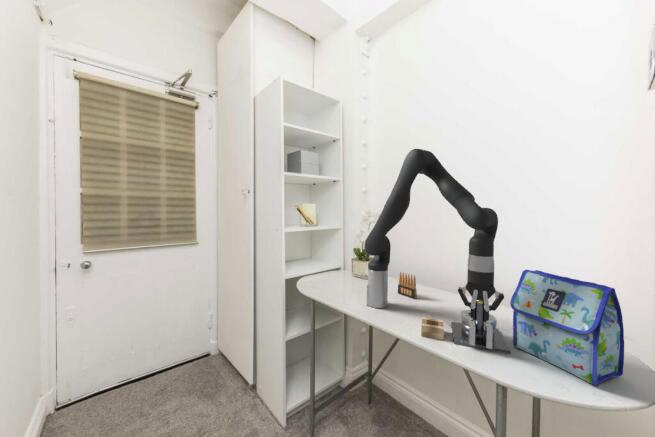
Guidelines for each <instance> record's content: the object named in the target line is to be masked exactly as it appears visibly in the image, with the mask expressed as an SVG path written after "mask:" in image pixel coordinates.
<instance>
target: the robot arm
mask: <svg viewBox="0 0 655 437" xmlns="http://www.w3.org/2000/svg"><path fill="white" fill-rule="evenodd" d="M419 174H421V175H425V176H426V177H428V178H429V179H430V180H432V182H433V183H434V184H435V185H436V186H437V189H438V191H439V193H440V194H441V196H442V197H443V198H444V200H446V201H447V202H448V203H449V204H450V205H451V207H453V208H454V210H456V211H457V214H458V216H460V218H461V219H462V221H463V222H464V223H465V224H466V225H467V226H469V227H470V228H471V229H473V230H474V231H473V232H474V233H473V236H471V237H470V238H469V241H468V257H467V265H466V266H467V273H466V274H467V278H466V280H467V282H466V284H465V286H462V287H460V286H459V287H458V288H457V292H458V294H459V297H460V299H461V300H462V302H463V304H464V306H465V307H469V310H471V312H470V316H471V318H473V320H475V304H476V299H483V300H484V322H486V321H488V320H489V314H490V312H491V311H493V312H495V311H496V310H497V309H498V307H500V305H501V303H502V301H503V300H504V299H505V295H504V293H503V292H500V291H498V290H496V287H495V258H494V257H495V256H494V254H495V253H494V251H495V248H494V247H495V238H496V234H497V231H498V226H499V217H498V214H497V213H496V211H495V210H494V209H492V208H489V207H481V206H480V205H479V204H478V203H477V202H476V201H475V200H476V199H475V196H474V195H473V193H472V192H471V191H469V190H468V189H467V188H466V187H465V186H464V185H463V184H462V183H460V182H459V181H458V180H457V179H455V178H454V176H452V175H451V173H450V172H448V170H447V169H446V168H445V167H444V166H443V164H442V163H441V162H440V160H439V159H438V158H437V156H436V155H435V154H434V153H433V152H432V151H429V150H426V149H422V148H421V149H420V148H413V149H411V150H410V151H409V152H408V153H407V154H406V156H405V158H404V160H403V162H402V166H401V168H400V171H399V174H398V177H397V179H396V181H395V183H394V184H393V187H392V190H391V192H390V194H389V196H388V198H387V200H386V202H385V204H384V206H383V208H382V210H381V212H380V215H379V216H378V219H377V221H376V222H375V224H374V226H373V228H372V229H371V231H370V232H369V233H368V235H367V237H366V238H365V241H364V251H365V253H366V254H367V255H369V256H373V258H372V259H371V260H370V261H369V262H368V263H367V264H368V265H367V285H366V306H369V307H370V308H374V309H385V308H387V307H388V293H389V292H388V291H389V290H388V288H389V287H388V285H389V283H388V281H389V280H388V279H389V277H388V276H389V274H388V273H389V265H390V261H391V241H390V238H389V237H388V236H387V234H388V233H389V232H390V231H391V230H392V229H393V228H394V227H395V226H396V225H397V224H399V223H400V222H401V221H402V219H403V218H404V216H405V214H406V212H407V211H408V209H409V207H410V203H411V190H412V186H413V184H414V181H415V180H416V178H417V176H418V175H419ZM466 293H468V294H469V295H470V296H471V301H469V299H468V298H467V296H466ZM493 295H494V297H495V299H494V300H493V302H492V303H491V304H490V303H489V299H490V298H491V297H493Z"/></svg>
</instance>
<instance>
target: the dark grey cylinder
mask: <svg viewBox="0 0 655 437" xmlns="http://www.w3.org/2000/svg"><path fill="white" fill-rule="evenodd" d="M484 309H485V305H484V300H483V299H476V304H475V334H476V335H479V336H483V335H484Z"/></svg>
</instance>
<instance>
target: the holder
mask: <svg viewBox="0 0 655 437" xmlns="http://www.w3.org/2000/svg"><path fill="white" fill-rule="evenodd" d="M420 325H421V331H420V332H421V333H420V334H421V335H420V336H421V337H423V338H429V339H435V340H441V341H444V340H445V339H444V338H445V326H444V320H443V319H437V318H429V317H422V316H421V324H420Z"/></svg>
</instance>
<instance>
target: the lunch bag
mask: <svg viewBox="0 0 655 437" xmlns="http://www.w3.org/2000/svg"><path fill="white" fill-rule="evenodd" d="M509 301H510V302H509V303H510V304H509V305H510V307H511V309H512V310H513V313H512V333H513V334H512V346H513V347H514V348H517V349H519V350H520V351H523V352H526V353H528V354H529V355H532V356H535V357H537V358H539V359H541V360H543V361H546V362H548V363H549V364H551V365H554V366H555V367H558V368H559V369H562V370H563V371H566V372H568V373H570V374H572V375H574V376H575V377H578V378H580V379H581V380H583V381H585V382H587V383H589V384H591V385H594V386H596V387H599V384H601V383H603V382H605V381H606V380H607V381H608V379H610V378H619V377H622V376H623V374H624V363H625V362H624V361H625V335H624V334H625V333H624V321H623V319H624V318H623V313H622V312H623V311H622V308H621V305H620V302H619V298H618V295H617V292H616V289H615V288H614V287H611V286H607V285H606V284H605V285H604V284H598V283H596V282H591V281H586V280H585V281H583V280H580V279H576V278H575V279H574V278H571V277H567V276H561V275H558V274H553V273H549V272H545V271H541V270H538V269H537V270H536V269H535V270H531V269H524V270H522V272H521V275H520V278H519V280H518V283H517V285H516V288H515V290H514V291H513V294H512V296H511V298H510V300H509Z"/></svg>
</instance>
